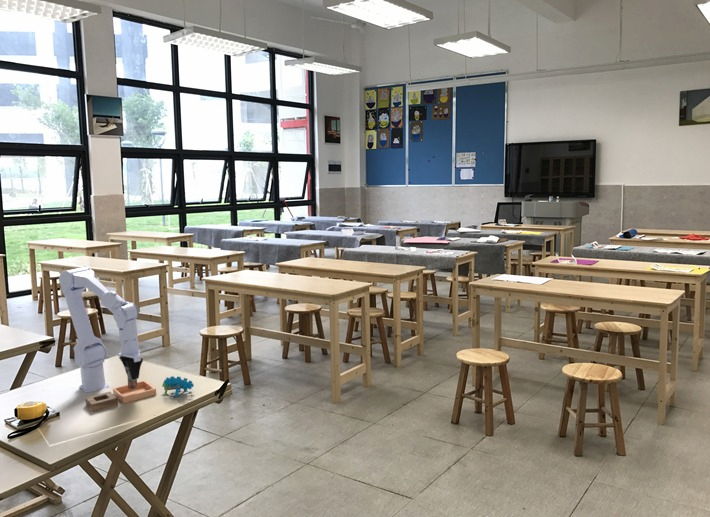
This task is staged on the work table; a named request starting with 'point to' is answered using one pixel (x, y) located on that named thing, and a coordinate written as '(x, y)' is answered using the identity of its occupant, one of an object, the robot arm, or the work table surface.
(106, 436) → the work table surface
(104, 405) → the pin block
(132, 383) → the pin
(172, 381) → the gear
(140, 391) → the tray
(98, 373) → the robot arm
